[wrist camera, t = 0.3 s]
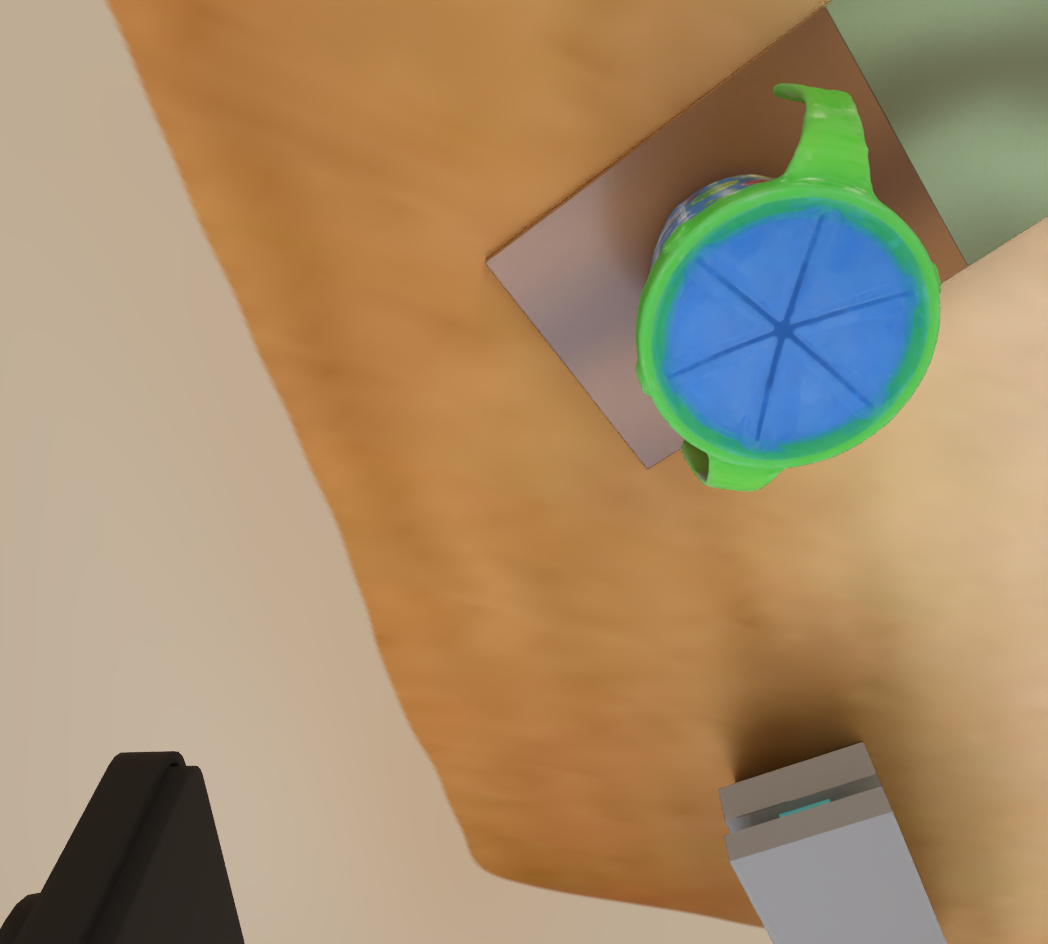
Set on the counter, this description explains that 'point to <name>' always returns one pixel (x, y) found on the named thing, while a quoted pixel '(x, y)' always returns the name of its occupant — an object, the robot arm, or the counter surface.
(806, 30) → the placemat
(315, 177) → the counter surface
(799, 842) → the sharpening stone
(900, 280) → the snack cup
